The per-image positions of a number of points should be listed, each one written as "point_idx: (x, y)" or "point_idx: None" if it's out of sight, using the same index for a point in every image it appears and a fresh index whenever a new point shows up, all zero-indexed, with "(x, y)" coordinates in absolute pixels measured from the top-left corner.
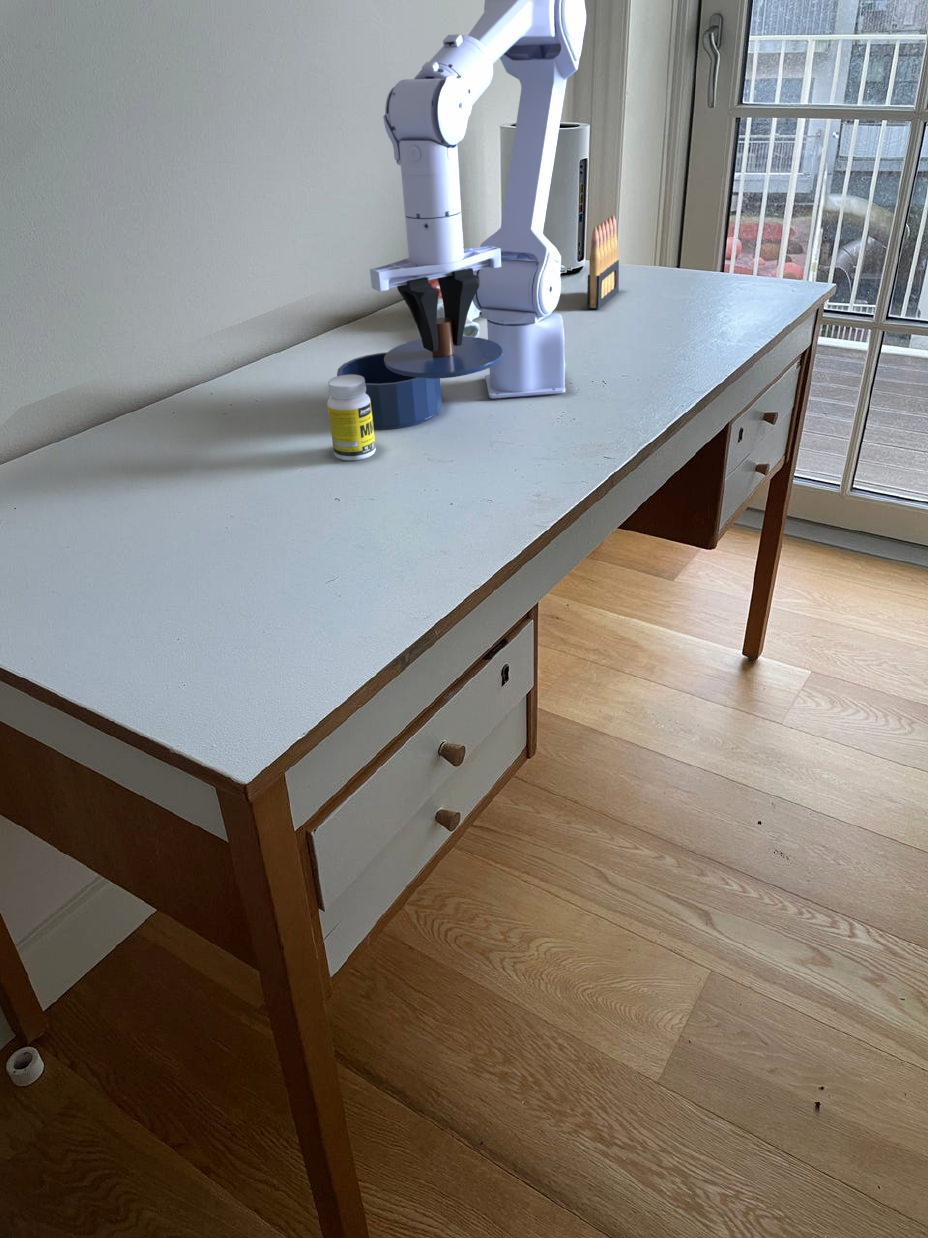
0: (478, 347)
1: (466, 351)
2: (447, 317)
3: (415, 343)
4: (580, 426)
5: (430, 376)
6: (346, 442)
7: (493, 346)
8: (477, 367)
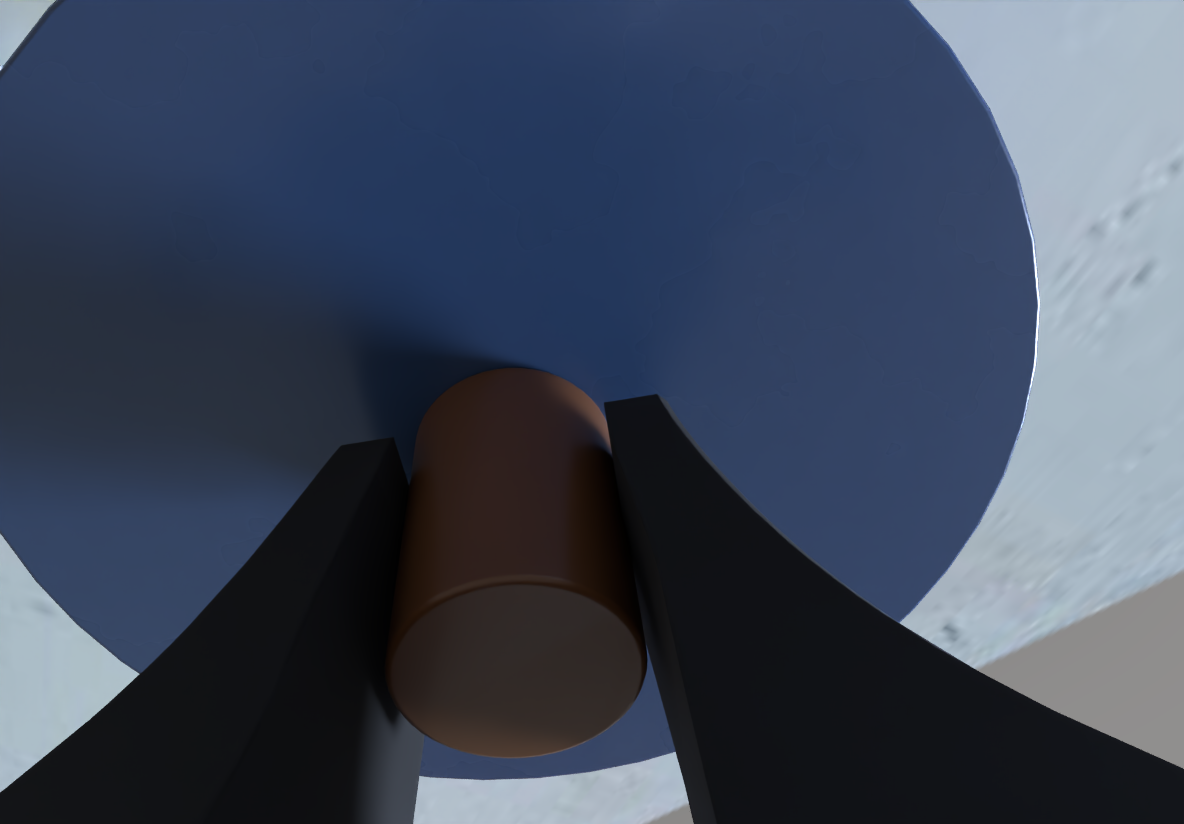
0: (843, 438)
1: None
2: (649, 569)
3: None
4: (1097, 361)
5: None
6: None
7: (949, 475)
8: (619, 763)
